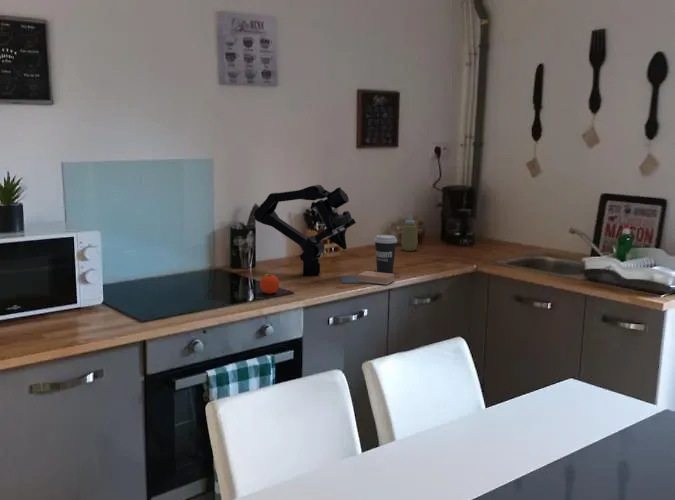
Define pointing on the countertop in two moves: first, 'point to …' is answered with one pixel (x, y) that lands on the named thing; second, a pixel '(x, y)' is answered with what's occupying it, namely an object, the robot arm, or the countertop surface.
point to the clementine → (269, 283)
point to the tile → (376, 277)
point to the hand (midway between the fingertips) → (345, 249)
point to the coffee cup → (385, 252)
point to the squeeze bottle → (409, 235)
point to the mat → (352, 280)
